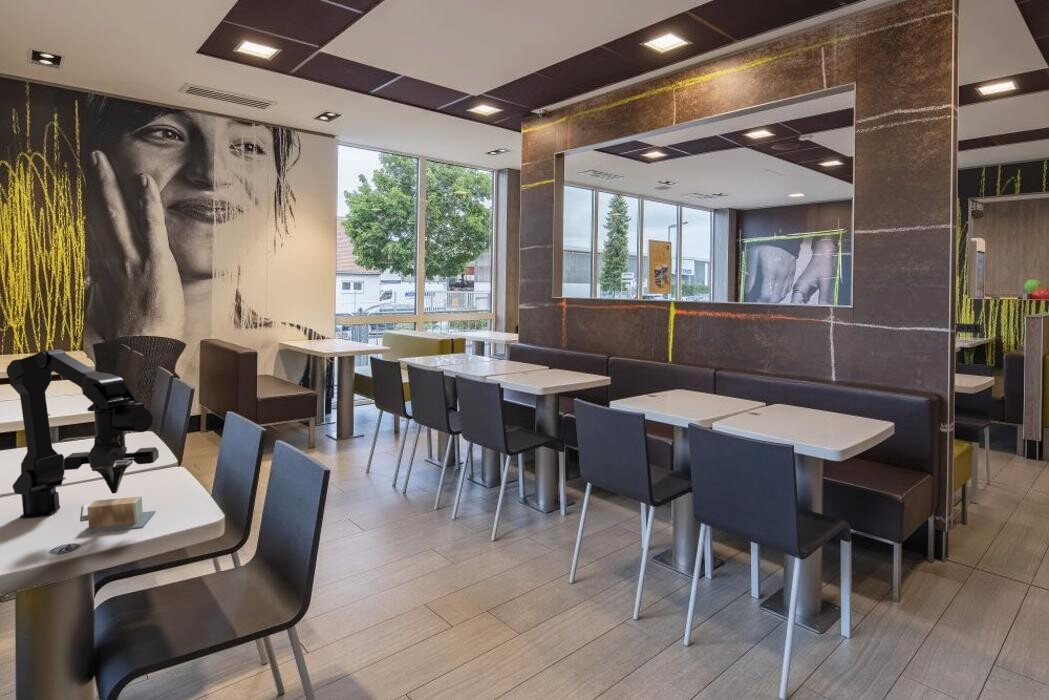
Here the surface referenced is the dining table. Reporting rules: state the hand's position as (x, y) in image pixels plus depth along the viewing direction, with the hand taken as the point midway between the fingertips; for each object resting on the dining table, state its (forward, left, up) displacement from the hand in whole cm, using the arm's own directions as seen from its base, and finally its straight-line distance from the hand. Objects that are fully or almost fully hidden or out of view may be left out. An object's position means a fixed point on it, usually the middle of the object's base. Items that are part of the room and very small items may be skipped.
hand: (114, 492), depth 151 cm
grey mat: (+2, 0, -8) cm, 8 cm away
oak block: (-5, 0, -5) cm, 7 cm away
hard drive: (-7, +12, -8) cm, 16 cm away
